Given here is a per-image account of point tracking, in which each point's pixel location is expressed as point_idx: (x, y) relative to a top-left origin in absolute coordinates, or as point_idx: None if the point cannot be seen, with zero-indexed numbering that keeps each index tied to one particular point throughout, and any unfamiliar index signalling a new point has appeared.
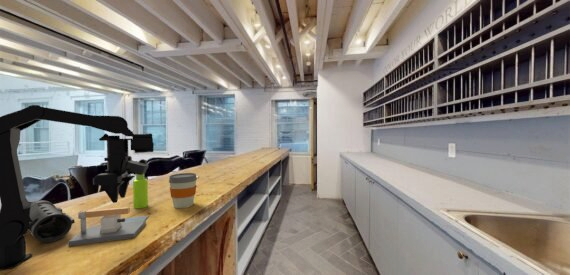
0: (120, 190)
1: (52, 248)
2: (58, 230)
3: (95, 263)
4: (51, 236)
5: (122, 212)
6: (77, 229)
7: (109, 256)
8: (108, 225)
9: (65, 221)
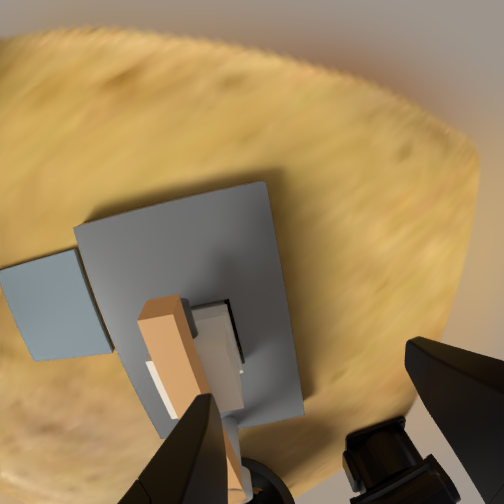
0: (219, 491)
1: (307, 430)
2: None
3: (449, 210)
4: None
5: (187, 334)
6: None
7: (418, 190)
8: (232, 351)
9: None
